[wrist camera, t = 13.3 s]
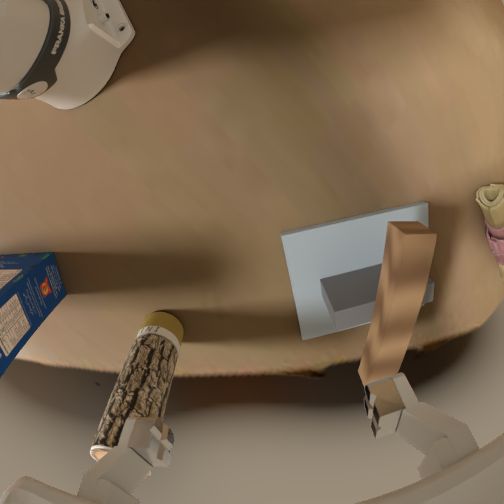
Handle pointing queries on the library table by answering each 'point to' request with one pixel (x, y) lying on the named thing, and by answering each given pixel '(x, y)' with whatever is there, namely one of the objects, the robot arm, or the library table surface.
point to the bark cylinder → (141, 380)
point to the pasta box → (25, 299)
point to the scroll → (494, 219)
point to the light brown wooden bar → (397, 298)
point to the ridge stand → (342, 268)
